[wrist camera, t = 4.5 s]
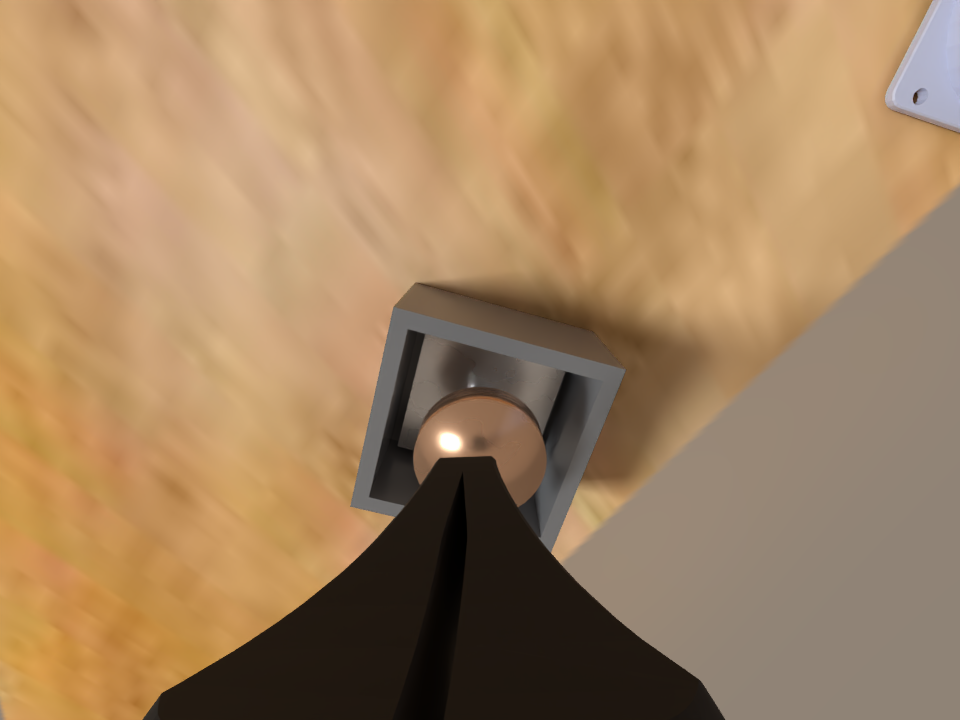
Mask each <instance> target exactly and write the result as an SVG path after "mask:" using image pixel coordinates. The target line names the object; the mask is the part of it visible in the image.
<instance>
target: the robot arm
mask: <svg viewBox="0 0 960 720" xmlns="http://www.w3.org/2000/svg"><path fill="white" fill-rule="evenodd" d="M915 92H916V93H917V95H918V99H917V102H916V103H915V104H914V103H913V95H914V93H915ZM885 103H886V105H887V107H889V108H890V109H892V110H894V111H897V112H900V113H903V114H906V115H909V116H912V117H915V118H918V119H921V120H924V121H927V122H930V123H932V124H935V125H938V126H941V127H944V128H947V129H950V130H953V131H956V132H959V133H960V0H933V1H932V3H931V5H930V7H929V9H928V11H927V13H926V15H925V17H924V19H923V21H922V23H921V25H920V27H919V29H918V31H917V33H916V35H915V37H914V39H913V41H912V43H911V45H910V47H909V48H908V50H907V52H906V54H905V56H904V58H903V60H902V62H901V64H900V66H899V68H898V70H897V72H896V74H895V76H894V78H893V80H892V82H891V84H890V86H889V88H888V90H887V92H886V95H885ZM143 720H725V719H724V717H723V715H722V714H721V712H720V710H719V709H718V707H717V706H716V704H715V702H714V701H713V699H712V698H711V696H710V695H709V693H708V692H707V690H706V688H705V687H704V685H703V684H702V682H701V681H700V680H699V679H697V678H696V677H695V676H693V675H692V674H690V673H689V672H687V671H686V670H685V669H683V668H682V667H680V666H679V665H678V664H676V663H675V662H673V661H672V660H670V659H669V658H668V657H666V656H665V655H663V654H662V653H661V652H659V651H658V650H656V649H655V648H654V647H652V646H651V645H649V644H648V643H646V642H645V641H644V640H642V639H641V638H640V637H638V636H637V635H636V634H635V633H633V632H632V631H631V630H630V629H628V628H627V627H626V626H625V625H624V624H622V623H621V622H620V621H619V620H617V619H616V618H615V617H614V616H613V615H612V614H611V613H610V612H609V611H608V610H606V609H605V608H604V607H603V606H602V605H601V604H600V603H599V602H598V601H597V600H596V599H595V598H594V597H592V596H591V595H590V594H589V593H588V592H587V591H586V590H585V589H584V588H583V587H581V585H580V584H579V583H577V581H575V579H574V578H573V577H572V576H571V575H570V574H569V573H568V572H567V571H566V570H565V569H564V568H563V566H562V565H561V564H560V563H559V562H558V561H557V560H556V558H555V557H554V556H553V555H552V554H551V553H550V551H549V550H548V549H547V548H546V546H545V545H544V544H543V543H542V541H541V540H540V539H539V537H538V536H537V535H536V533H535V532H534V531H533V529H532V528H531V526H530V525H529V524H528V522H527V521H526V519H525V518H524V516H523V515H522V513H521V512H520V510H519V508H518V507H517V505H516V503H515V502H514V500H513V498H512V497H511V495H510V493H509V491H508V489H507V487H506V485H505V483H504V481H503V479H502V477H501V475H500V472H499V470H498V466H497V463H496V460H495V459H494V458H493V457H492V456H475V457H447V458H439V459H438V460H437V461H436V462H435V464H434V466H433V467H432V469H431V470H430V472H429V473H428V475H427V476H426V478H425V479H424V481H423V482H422V483H421V485H420V486H419V488H418V489H417V490H416V492H415V493H414V494H413V496H412V497H411V498H410V500H409V501H408V502H407V503H406V505H405V506H404V507H403V509H402V510H401V511H400V512H399V514H398V515H397V516H396V517H395V518H394V519H393V520H392V522H391V523H390V524H389V525H388V526H387V527H386V528H385V530H384V531H383V532H382V533H381V534H380V535H379V536H378V538H377V539H376V540H375V541H374V542H373V543H372V544H371V545H370V546H369V547H368V548H367V549H366V550H365V551H364V552H363V553H362V554H361V555H360V556H359V557H358V558H357V559H356V560H355V561H354V562H353V563H351V564H350V565H349V566H348V567H347V568H346V569H345V570H344V571H343V572H342V573H341V574H339V575H338V576H337V577H336V578H334V579H333V580H332V581H331V582H329V583H328V584H327V585H326V586H325V587H323V588H322V589H321V590H320V591H318V592H317V593H316V594H315V595H313V596H312V597H311V598H310V599H308V600H307V601H306V602H305V603H303V604H302V605H301V606H299V607H298V608H297V609H295V610H294V611H293V612H291V613H290V614H288V615H287V616H286V617H284V618H283V619H281V620H280V621H279V622H277V623H276V624H274V625H273V626H271V627H270V628H268V629H267V630H265V631H264V632H262V633H261V634H259V635H258V636H256V637H255V638H253V639H252V640H250V641H249V642H247V643H246V644H244V645H243V646H241V647H239V648H238V649H236V650H235V651H233V652H231V653H230V654H228V655H226V656H225V657H223V658H221V659H220V660H218V661H216V662H215V663H213V664H211V665H210V666H208V667H206V668H204V669H203V670H201V671H199V672H198V673H196V674H194V675H193V676H191V677H189V678H188V679H186V680H184V681H183V682H181V683H179V684H177V685H176V686H174V687H172V688H170V689H168V690H167V691H165V692H163V693H162V694H161V695H160V696H159V698H158V699H157V701H156V702H155V703H154V705H153V706H152V707H151V709H150V710H149V712H148V713H147V714H146V716H145V717H144V718H143Z"/></svg>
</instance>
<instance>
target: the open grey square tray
mask: <svg viewBox="0 0 960 720" xmlns="http://www.w3.org/2000/svg"><path fill="white" fill-rule="evenodd" d="M425 334H428V335H432V336H435V337H439V338H443V339H447V340H450V341H454V342H458V343H462V344H465V345H469V346H473V347H477V348H480V349H484V350H488V351H492V352H495V353H499V354H503V355H507V356H510V357H514V358H518V359H522V360H525V361H529V362H533V363H537V364H540V365H544V366H548V367H552V368H555V369H559V370H563V371H565V374H564V377H563V380H562V382H561V385H560V388H559V391H558V393H557V396H556V399H555V401H554V404H553V407H552V410H551V412H550V415H549V418H548V421H547V423H546V426H545V429H544V431H543V434H542V437H543V441H544V445H545V449H546V455H547V464H546V471H545V474H544V478H543V480H542V482H541V484H540V486H539V487H538V489H537V491H536V492H535V493H534V494H533V495H532V497H531V498H530V499H528V500H527V501H526V502H525V503H524V504H522V505H521V506H519V507H518V508H519V510H520V512H521V513H522V515H523V516H524V518H525V519H526V521H527V522H528V524H529V525H530V526H531V528H532V529H533V531H534V532H535V533H536V535H537V536H538V537H539V539H540V540H541V541H542V543H543V544H544V545H545V546H546V548H547V549H548V550H549V551H550V553H551V551H552V548H553V546H554V544H555V541H556V539H557V536H558V534H559V532H560V529H561V527H562V524H563V522H564V519H565V517H566V515H567V512H568V510H569V507H570V505H571V502H572V500H573V498H574V495H575V493H576V490H577V488H578V485H579V483H580V481H581V478H582V476H583V473H584V471H585V469H586V466H587V464H588V461H589V459H590V456H591V454H592V452H593V449H594V447H595V444H596V442H597V439H598V437H599V435H600V432H601V430H602V427H603V425H604V422H605V420H606V418H607V415H608V413H609V410H610V408H611V406H612V403H613V401H614V398H615V396H616V393H617V391H618V389H619V386H620V384H621V381H622V379H623V376H624V374H625V372H626V369H625V368H624V367H623V366H622V364H621V363H620V362H619V361H618V360H617V359H616V357H615V356H614V355H613V354H612V353H611V352H610V351H609V349H608V348H607V347H606V346H605V345H604V344H603V343H602V341H601V340H600V339H599V338H598V337H597V336H596V334H595V333H594V332H593V331H589V330H586V329H582V328H578V327H575V326H571V325H567V324H564V323H560V322H557V321H553V320H549V319H546V318H542V317H538V316H535V315H531V314H528V313H524V312H520V311H517V310H513V309H509V308H506V307H502V306H499V305H495V304H491V303H488V302H484V301H480V300H477V299H473V298H470V297H466V296H462V295H459V294H455V293H451V292H448V291H444V290H441V289H437V288H433V287H430V286H426V285H422V284H419V283H415V284H414V285H413V286H412V287H411V288H410V289H409V290H408V291H407V293H406V294H405V295H404V296H403V297H402V298H401V299H400V300H399V301H398V303H397V304H396V305H395V306H394V307H393V312H392V316H391V321H390V326H389V330H388V335H387V340H386V344H385V349H384V353H383V358H382V363H381V367H380V372H379V377H378V381H377V386H376V390H375V395H374V400H373V404H372V409H371V414H370V418H369V423H368V427H367V432H366V437H365V441H364V446H363V450H362V455H361V460H360V464H359V469H358V474H357V478H356V483H355V487H354V492H353V497H352V501H351V506H350V507H355V508H359V509H363V510H368V511H372V512H376V513H381V514H385V515H389V516H393V517H396V516H397V515H398V514H399V512H400V511H401V510H402V509H403V507H404V506H405V505H406V503H407V502H408V501H409V500H410V498H411V497H412V496H413V494H414V493H415V492H416V490H417V489H418V488H419V486H420V484H419V482H418V479H417V477H416V474H415V470H414V464H413V454H414V450H411V449H407V448H403V447H398V442H399V438H400V434H401V430H402V426H403V422H404V418H405V414H406V410H407V406H408V402H409V398H410V394H411V390H412V386H413V381H414V377H415V373H416V369H417V365H418V361H419V357H420V353H421V349H422V345H423V341H424V337H425Z"/></svg>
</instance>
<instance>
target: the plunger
mask: <svg viewBox="0 0 960 720" xmlns="http://www.w3.org/2000/svg"><path fill="white" fill-rule="evenodd" d="M564 374H565V371H563V370H559V369H555V368H552V367H548V366H544V365H540V364H537V363H533V362H529V361H525V360H522V359H518V358H514V357H510V356H507V355H503V354H499V353H495V352H492V351H488V350H484V349H480V348H477V347H473V346H469V345H465V344H462V343H458V342H454V341H450V340H447V339H443V338H439V337H435V336H432V335H428V334H425V337H424V341H423V345H422V349H421V353H420V357H419V361H418V365H417V369H416V373H415V377H414V381H413V386H412V390H411V394H410V398H409V402H408V406H407V410H406V414H405V418H404V422H403V426H402V430H401V434H400V438H399V442H398V447H403V448H407V449H411V450H414V454H413V464H414V470H415V474H416V477H417V479H418V482H419V484H420V485H421V483H422V482H423V481H424V479H425V478H426V476H427V475H428V473H429V472H430V470H431V469H432V467H433V466H434V464H435V462H436V461H437V460H438V459H439V458H447V457H475V456H492V457H493V458H494V459H495V460H496V463H497V466H498V470H499V472H500V475H501V477H502V479H503V481H504V483H505V485H506V487H507V489H508V491H509V493H510V495H511V497H512V498H513V500H514V502H515V503H516V505H517V507H519V506H521V505H522V504H524V503H525V502H526V501H527V500H528V499H530V498H531V497H532V495H533V494H534V493H535V492H536V491H537V489H538V487H539V486H540V484H541V482H542V480H543V478H544V474H545V471H546V464H547V455H546V449H545V445H544V441H543V437H542V434H543V431H544V429H545V426H546V423H547V421H548V418H549V415H550V412H551V410H552V407H553V404H554V401H555V399H556V396H557V393H558V391H559V388H560V385H561V382H562V380H563V377H564Z"/></svg>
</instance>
